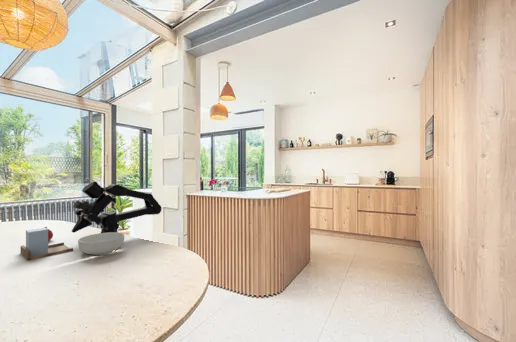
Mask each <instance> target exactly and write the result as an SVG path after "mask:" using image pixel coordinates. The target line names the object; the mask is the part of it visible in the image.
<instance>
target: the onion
mask: <svg viewBox="0 0 516 342" xmlns="http://www.w3.org/2000/svg"><path fill="white" fill-rule="evenodd" d="M43 228H47V229H48V242H50V240H52V239H53V236H54V233H53V232H52V231H53V230H50V229H49V228H48V227H47V226H43Z"/></svg>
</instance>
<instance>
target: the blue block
mask: <svg viewBox="0 0 516 342" xmlns="http://www.w3.org/2000/svg"><path fill="white" fill-rule="evenodd" d="M48 229H49V228H48V227H47V228H44V227H39V228H33V229H27V230H26V229H25V247H26V248H27V249H28V250H30V251H31V257H32V256H37V255H42V254H46V253H48V245H49V241H48Z"/></svg>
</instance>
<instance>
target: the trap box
mask: <svg viewBox="0 0 516 342" xmlns="http://www.w3.org/2000/svg"><path fill="white" fill-rule="evenodd" d="M73 251H74V247H71V248H70V247H68V246H66V244H65V242H59V243H58V242H57V243H54V244H48V253H46V254H42V255H37V256H32V257H31V251H30V250H28V249H27V248H26V245H23V244H22V245H20V254H21V255H22V257H24V259H26V260H27V261H31V260H37V259H40V258H46V257H49V256H50V257H51V256H55V255H59V254H64V253H68V252H69V253H70V252H73Z"/></svg>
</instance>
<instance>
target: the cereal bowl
mask: <svg viewBox="0 0 516 342" xmlns="http://www.w3.org/2000/svg"><path fill="white" fill-rule="evenodd" d="M124 241H125V234H124V233H122V232H118V231H117V232H108V233H101V232H100V233H94V234H88V235H86V236H83V237H80V238H79V239H78V241H77V244H78V245H77V246H78V249H79V250H80V252H82V253H84V254H88V255H92V256H93V257H95V256H96V257H101V256H106V255H109V254H111V253H113V252H114V251H116V250H117V249H120V248H121V247H122V246H123V244H124Z"/></svg>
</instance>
